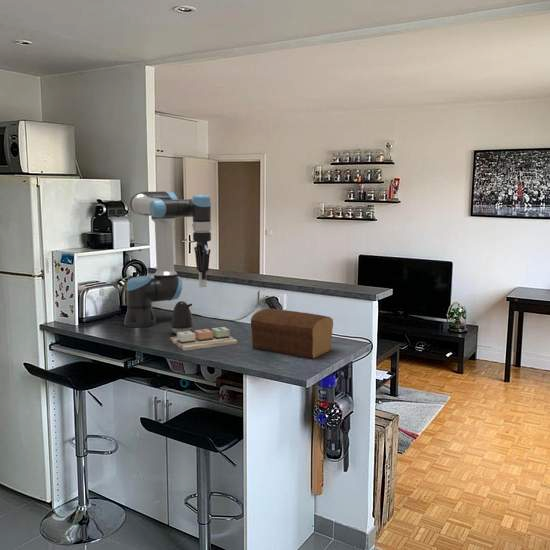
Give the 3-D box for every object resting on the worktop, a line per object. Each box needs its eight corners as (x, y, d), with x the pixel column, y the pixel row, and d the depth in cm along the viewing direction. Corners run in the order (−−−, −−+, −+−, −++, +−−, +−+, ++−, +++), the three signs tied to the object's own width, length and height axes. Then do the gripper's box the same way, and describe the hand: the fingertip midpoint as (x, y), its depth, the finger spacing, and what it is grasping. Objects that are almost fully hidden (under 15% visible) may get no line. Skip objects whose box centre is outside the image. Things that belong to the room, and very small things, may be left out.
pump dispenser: (187, 337, 260) (186, 303, 257) (166, 335, 263) (166, 302, 261) (197, 332, 269) (197, 299, 267) (177, 330, 272) (177, 298, 270)
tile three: (211, 334, 256) (211, 328, 255) (224, 332, 258) (224, 326, 258) (216, 337, 250) (216, 330, 250) (229, 335, 253) (229, 329, 253)
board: (170, 340, 253) (170, 337, 253) (221, 334, 264) (220, 331, 264) (184, 350, 237) (184, 347, 237) (237, 343, 249) (237, 340, 248)
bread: (311, 360, 225) (312, 320, 222) (249, 349, 241) (249, 311, 239) (333, 350, 240) (334, 312, 237) (273, 339, 256) (274, 304, 254)
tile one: (176, 338, 248) (176, 332, 248) (190, 336, 251) (190, 330, 250) (181, 341, 243) (181, 335, 242) (195, 340, 246) (195, 333, 245)
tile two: (194, 336, 252) (194, 330, 251) (207, 334, 255) (207, 328, 254) (199, 339, 247) (199, 333, 246) (212, 337, 249) (212, 331, 249)
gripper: (188, 231, 248) (189, 285, 251) (199, 233, 237) (200, 289, 240) (204, 230, 251) (205, 284, 255) (216, 232, 240) (216, 288, 243)
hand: (202, 286), depth 247 cm, fingers closed
